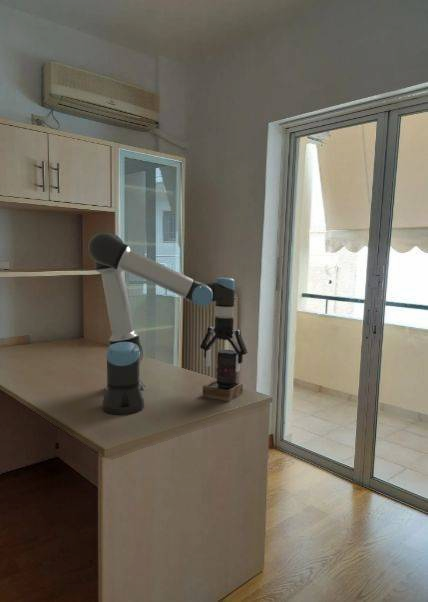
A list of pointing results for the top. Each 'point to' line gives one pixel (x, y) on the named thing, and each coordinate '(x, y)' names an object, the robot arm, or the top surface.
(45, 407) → the top surface
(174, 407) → the top surface
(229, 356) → the camera lens
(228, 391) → the square wooden tray
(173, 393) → the top surface
